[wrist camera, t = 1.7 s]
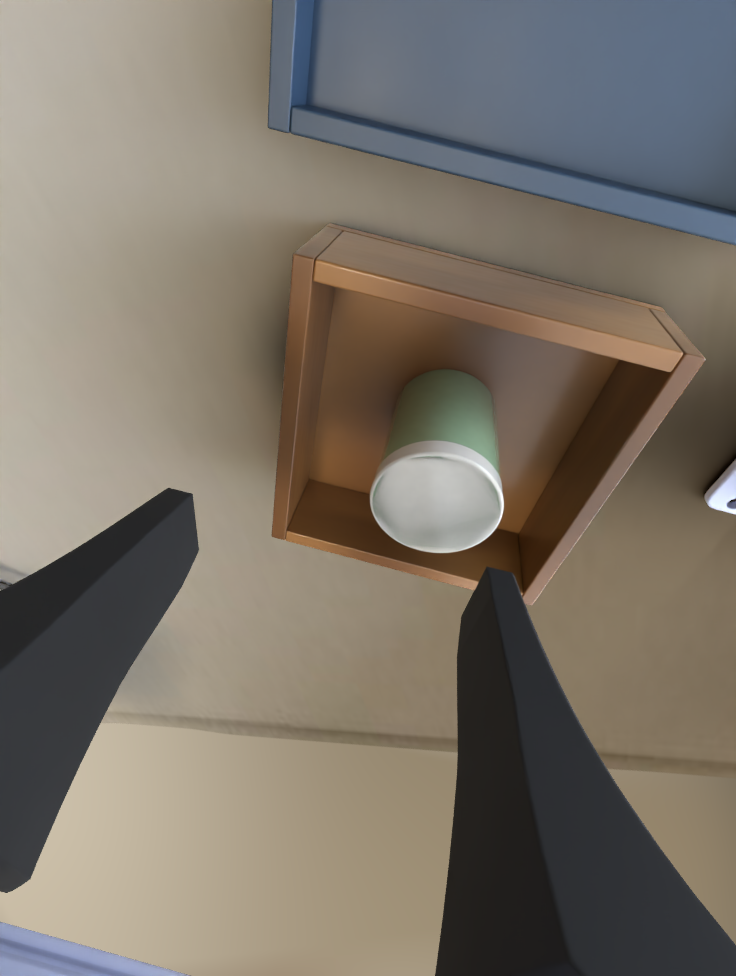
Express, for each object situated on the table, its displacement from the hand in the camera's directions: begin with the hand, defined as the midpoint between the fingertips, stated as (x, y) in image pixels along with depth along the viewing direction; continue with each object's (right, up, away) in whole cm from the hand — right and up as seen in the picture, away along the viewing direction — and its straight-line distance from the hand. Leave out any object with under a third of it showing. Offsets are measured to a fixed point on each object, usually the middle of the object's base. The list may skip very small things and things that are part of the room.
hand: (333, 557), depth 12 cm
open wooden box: (+4, +5, +7) cm, 10 cm away
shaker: (+4, +4, +7) cm, 9 cm away
